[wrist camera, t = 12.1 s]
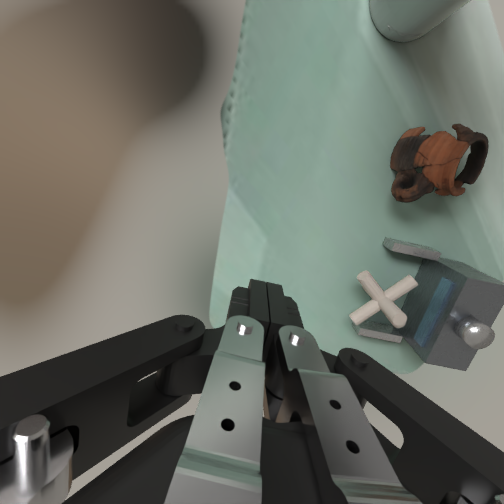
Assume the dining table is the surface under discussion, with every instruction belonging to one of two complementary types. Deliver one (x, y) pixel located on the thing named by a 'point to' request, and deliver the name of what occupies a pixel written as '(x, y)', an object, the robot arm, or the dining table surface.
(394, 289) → the pipe connector
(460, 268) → the grey boxy knob-topped device
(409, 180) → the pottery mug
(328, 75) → the dining table surface
